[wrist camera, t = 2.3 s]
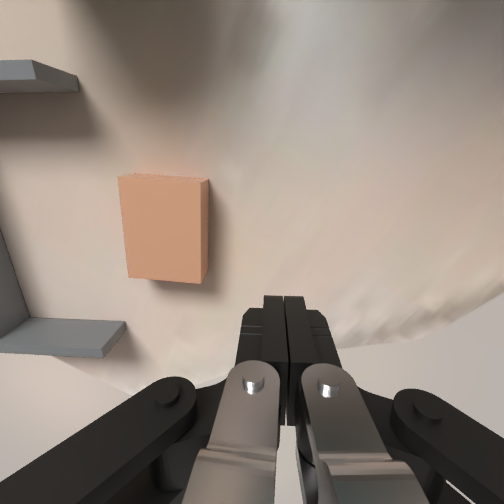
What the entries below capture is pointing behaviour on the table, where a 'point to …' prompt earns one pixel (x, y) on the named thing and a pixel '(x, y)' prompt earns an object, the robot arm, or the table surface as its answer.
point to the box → (3, 276)
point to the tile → (165, 226)
